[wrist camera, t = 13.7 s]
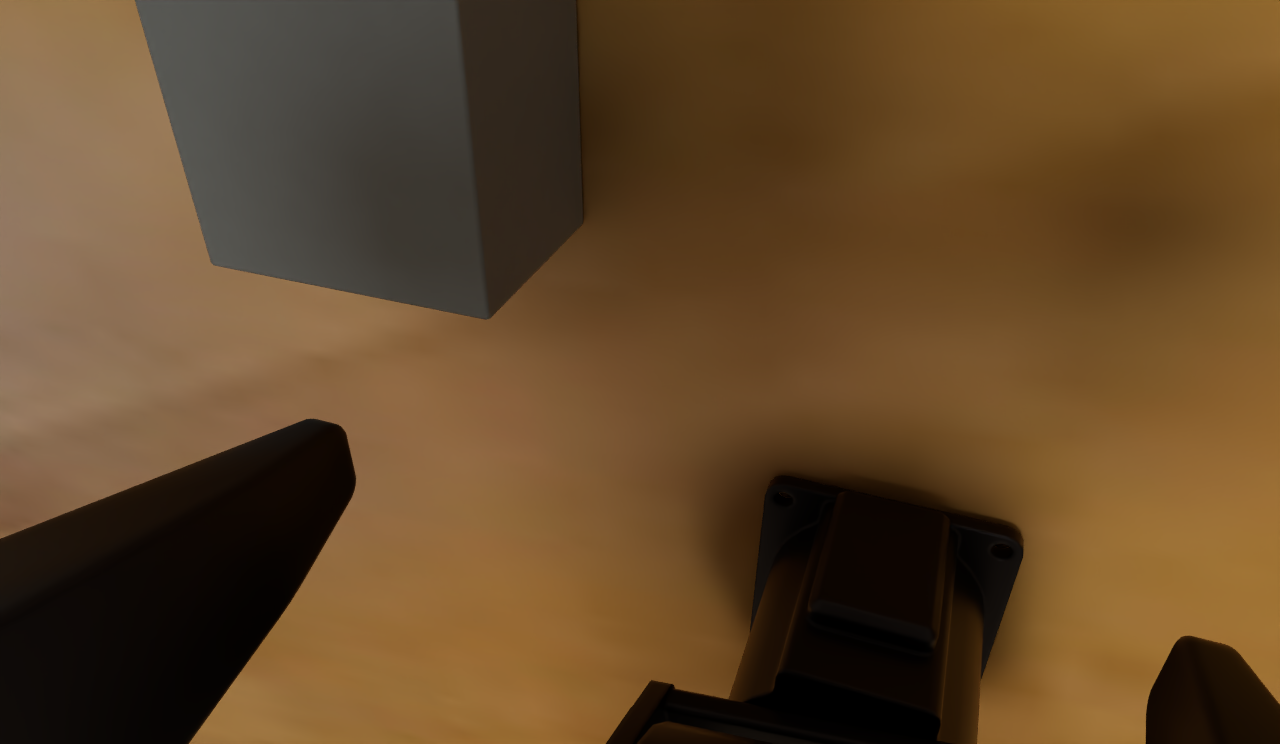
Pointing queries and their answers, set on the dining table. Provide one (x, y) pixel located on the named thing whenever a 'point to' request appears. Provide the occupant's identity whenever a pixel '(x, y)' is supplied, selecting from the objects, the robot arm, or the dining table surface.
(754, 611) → the robot arm
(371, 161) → the base block
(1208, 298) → the dining table surface
